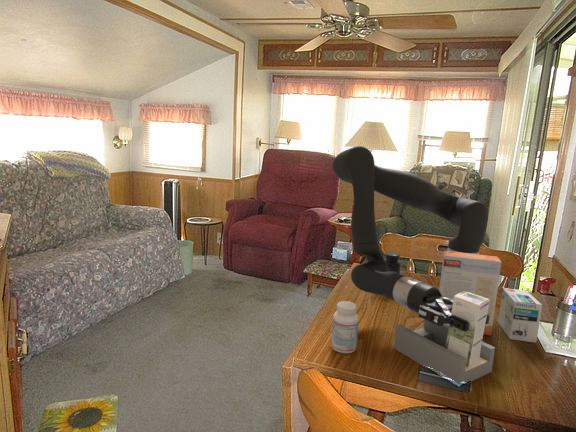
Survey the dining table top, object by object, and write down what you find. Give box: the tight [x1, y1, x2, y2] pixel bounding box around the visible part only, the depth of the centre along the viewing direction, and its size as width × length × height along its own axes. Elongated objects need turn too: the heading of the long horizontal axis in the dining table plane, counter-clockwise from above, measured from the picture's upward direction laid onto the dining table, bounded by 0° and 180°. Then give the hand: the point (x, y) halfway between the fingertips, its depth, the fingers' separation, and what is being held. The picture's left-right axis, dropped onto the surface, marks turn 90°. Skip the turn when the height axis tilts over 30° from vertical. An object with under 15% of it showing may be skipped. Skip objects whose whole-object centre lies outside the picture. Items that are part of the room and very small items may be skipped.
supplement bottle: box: [384, 251, 403, 275], centre depth 139 cm, size 7×7×12 cm
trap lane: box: [393, 319, 496, 384], centre depth 94 cm, size 12×18×6 cm, turn 32°
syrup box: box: [446, 291, 490, 367], centre depth 88 cm, size 6×6×14 cm
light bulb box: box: [497, 287, 543, 343], centre depth 109 cm, size 11×7×11 cm, turn 168°
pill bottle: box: [330, 300, 360, 354], centre depth 96 cm, size 6×6×11 cm
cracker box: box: [435, 250, 502, 337], centre depth 109 cm, size 14×6×21 cm, turn 71°
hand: (478, 323), depth 85 cm, fingers open, 6 cm apart
